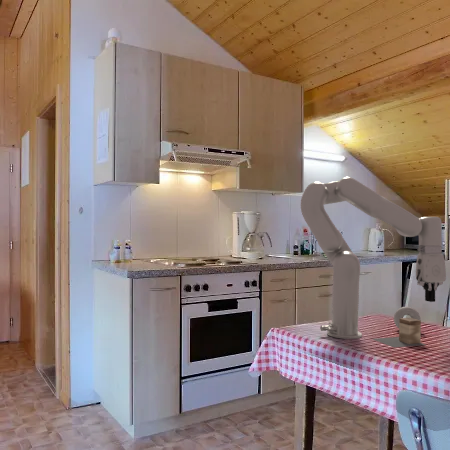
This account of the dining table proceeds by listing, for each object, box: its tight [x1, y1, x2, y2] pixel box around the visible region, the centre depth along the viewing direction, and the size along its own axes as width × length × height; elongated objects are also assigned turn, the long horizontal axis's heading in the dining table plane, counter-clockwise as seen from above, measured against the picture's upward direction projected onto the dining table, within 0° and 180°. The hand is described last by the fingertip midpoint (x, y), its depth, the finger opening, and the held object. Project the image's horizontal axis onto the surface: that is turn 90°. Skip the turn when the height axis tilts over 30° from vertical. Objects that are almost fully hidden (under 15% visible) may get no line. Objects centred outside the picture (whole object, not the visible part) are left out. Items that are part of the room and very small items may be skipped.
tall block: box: [398, 317, 422, 344], centre depth 161 cm, size 5×5×8 cm
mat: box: [372, 336, 427, 348], centre depth 161 cm, size 14×12×1 cm
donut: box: [393, 306, 422, 329], centre depth 179 cm, size 10×3×10 cm, turn 73°
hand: (430, 301), depth 164 cm, fingers closed
